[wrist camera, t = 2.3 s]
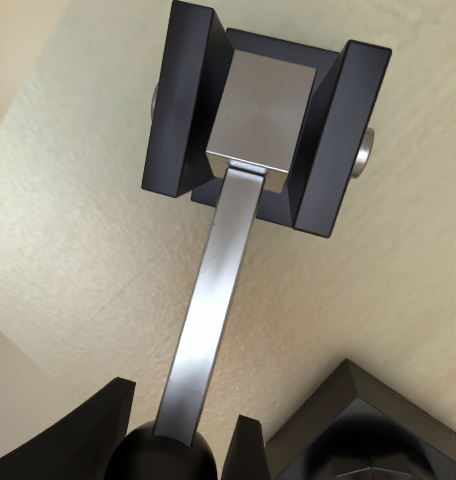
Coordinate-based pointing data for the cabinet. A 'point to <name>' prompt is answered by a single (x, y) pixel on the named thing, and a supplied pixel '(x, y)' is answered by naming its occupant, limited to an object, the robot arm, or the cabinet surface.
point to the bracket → (313, 130)
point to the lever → (221, 258)
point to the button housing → (361, 435)
